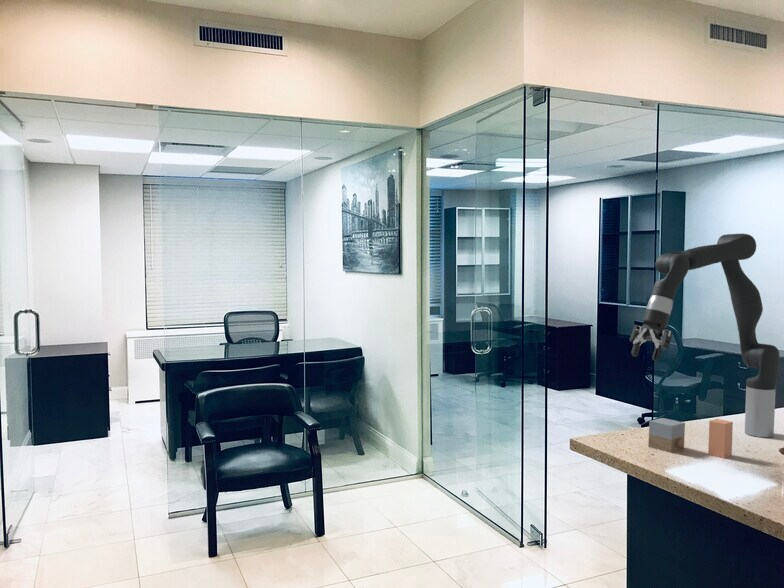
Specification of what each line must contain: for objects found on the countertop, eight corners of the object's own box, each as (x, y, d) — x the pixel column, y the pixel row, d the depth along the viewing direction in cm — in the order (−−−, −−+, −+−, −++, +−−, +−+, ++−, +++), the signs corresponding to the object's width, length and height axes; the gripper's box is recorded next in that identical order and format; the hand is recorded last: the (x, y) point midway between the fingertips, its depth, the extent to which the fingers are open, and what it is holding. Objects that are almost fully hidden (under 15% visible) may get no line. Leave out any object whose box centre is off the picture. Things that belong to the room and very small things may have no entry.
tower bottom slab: (661, 443, 215) (661, 430, 215) (683, 449, 209) (684, 436, 209) (648, 447, 211) (648, 434, 211) (670, 453, 204) (671, 439, 204)
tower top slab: (662, 430, 215) (662, 417, 215) (684, 436, 209) (685, 422, 209) (648, 434, 211) (649, 421, 210) (671, 439, 204) (671, 426, 204)
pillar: (716, 451, 206) (717, 418, 205) (731, 455, 202) (732, 421, 201) (708, 454, 203) (709, 420, 202) (724, 458, 199) (725, 424, 198)
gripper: (683, 317, 202) (669, 365, 201) (648, 312, 215) (635, 357, 214) (668, 310, 199) (653, 358, 198) (633, 305, 212) (620, 351, 211)
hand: (644, 358), depth 206 cm, fingers open, 8 cm apart
